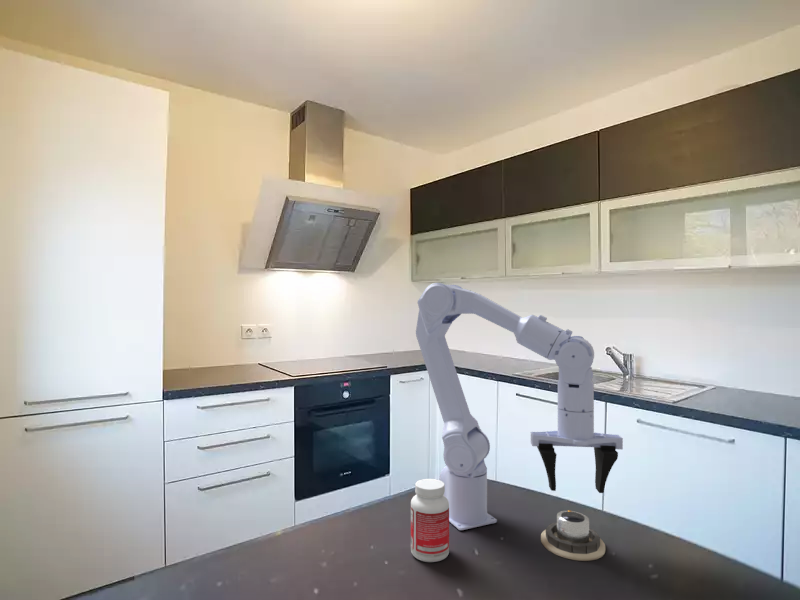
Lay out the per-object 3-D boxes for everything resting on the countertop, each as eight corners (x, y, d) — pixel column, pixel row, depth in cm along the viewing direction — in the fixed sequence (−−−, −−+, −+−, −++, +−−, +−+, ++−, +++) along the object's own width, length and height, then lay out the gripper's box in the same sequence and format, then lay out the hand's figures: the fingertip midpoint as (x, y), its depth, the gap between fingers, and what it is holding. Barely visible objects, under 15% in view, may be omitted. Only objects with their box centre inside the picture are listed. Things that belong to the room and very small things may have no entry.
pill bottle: (457, 556, 73) (457, 485, 73) (426, 568, 69) (426, 494, 69) (433, 539, 78) (433, 473, 78) (403, 550, 74) (403, 481, 74)
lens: (560, 548, 74) (560, 522, 74) (553, 533, 79) (553, 509, 79) (593, 550, 73) (593, 524, 73) (584, 535, 78) (584, 510, 78)
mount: (528, 536, 79) (528, 525, 79) (572, 525, 83) (572, 515, 83) (571, 566, 70) (571, 554, 70) (619, 552, 74) (619, 541, 74)
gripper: (535, 412, 75) (535, 497, 74) (629, 415, 73) (630, 501, 73) (528, 403, 82) (528, 480, 81) (614, 406, 80) (614, 484, 80)
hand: (575, 489), depth 77 cm, fingers open, 7 cm apart
